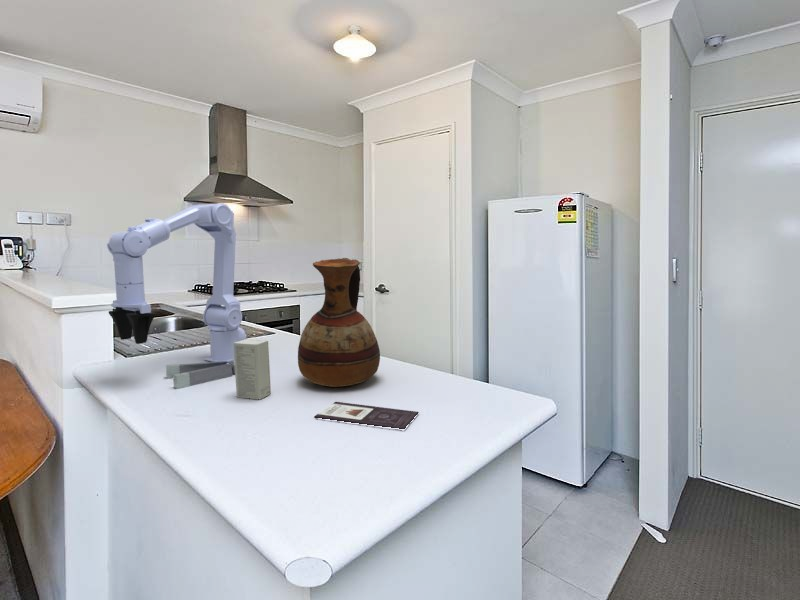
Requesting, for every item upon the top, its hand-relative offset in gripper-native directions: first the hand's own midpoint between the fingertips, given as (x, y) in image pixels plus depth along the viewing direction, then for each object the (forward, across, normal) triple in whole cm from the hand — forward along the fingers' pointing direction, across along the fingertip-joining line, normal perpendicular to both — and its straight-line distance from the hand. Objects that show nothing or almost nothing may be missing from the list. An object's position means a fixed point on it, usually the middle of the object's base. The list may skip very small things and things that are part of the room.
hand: (133, 341), depth 110 cm
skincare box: (+10, +30, +11) cm, 34 cm away
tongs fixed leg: (+10, +7, +13) cm, 18 cm away
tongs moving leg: (+10, +12, +10) cm, 19 cm away
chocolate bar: (+11, +58, +16) cm, 62 cm away
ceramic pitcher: (+10, +37, +31) cm, 49 cm away
